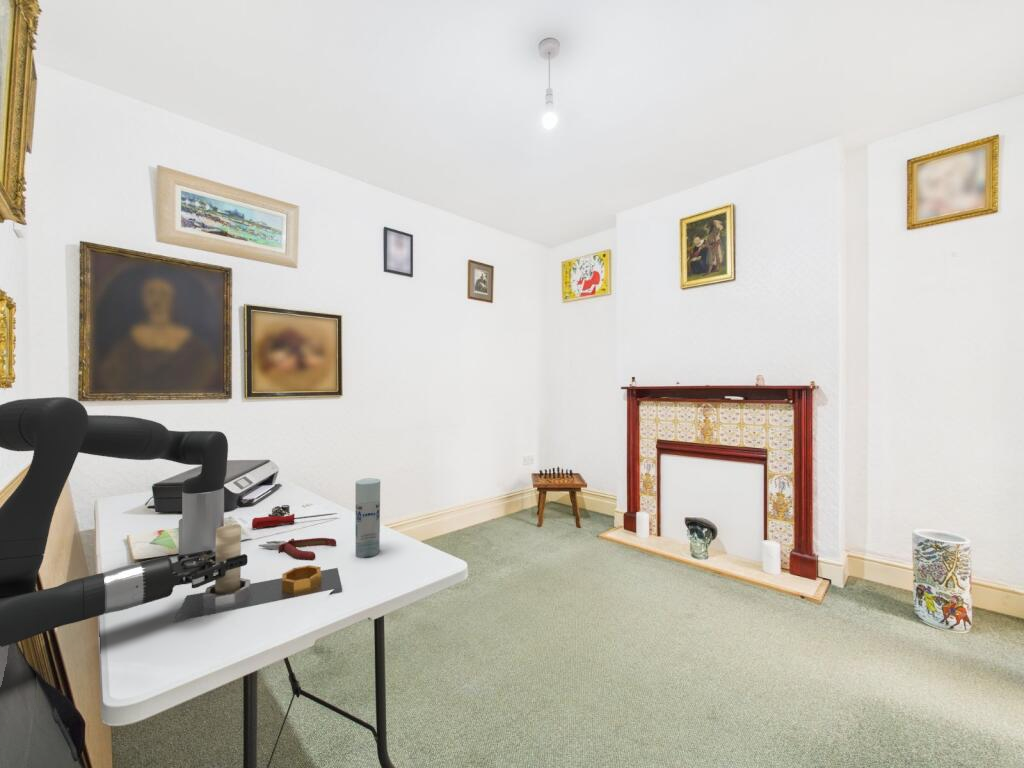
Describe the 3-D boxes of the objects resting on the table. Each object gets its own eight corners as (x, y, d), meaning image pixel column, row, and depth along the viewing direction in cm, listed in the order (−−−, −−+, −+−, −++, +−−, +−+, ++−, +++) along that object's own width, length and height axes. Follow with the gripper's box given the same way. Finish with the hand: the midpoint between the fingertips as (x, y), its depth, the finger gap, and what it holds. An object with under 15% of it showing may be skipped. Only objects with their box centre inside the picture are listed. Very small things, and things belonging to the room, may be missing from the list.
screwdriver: (337, 520, 142) (337, 509, 142) (251, 530, 131) (251, 519, 131) (336, 517, 145) (336, 506, 145) (252, 527, 134) (253, 516, 134)
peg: (209, 603, 86) (210, 531, 86) (226, 592, 90) (227, 524, 90) (229, 604, 86) (229, 532, 86) (245, 594, 90) (245, 525, 90)
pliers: (277, 540, 124) (277, 531, 124) (338, 546, 120) (338, 537, 120) (246, 556, 113) (246, 547, 113) (312, 563, 109) (312, 553, 109)
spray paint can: (354, 550, 116) (354, 479, 116) (378, 547, 119) (378, 477, 119) (355, 560, 110) (356, 484, 110) (381, 555, 113) (382, 482, 113)
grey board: (173, 627, 79) (173, 608, 79) (186, 600, 89) (186, 584, 89) (341, 591, 93) (342, 576, 93) (337, 571, 103) (337, 557, 103)
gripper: (144, 575, 73) (254, 547, 85) (132, 553, 82) (233, 530, 95) (144, 618, 73) (254, 583, 85) (132, 591, 82) (232, 563, 95)
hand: (242, 555), depth 90 cm, fingers closed on peg, 4 cm apart
